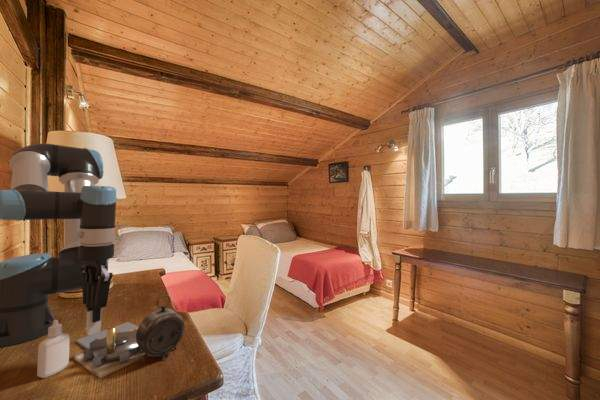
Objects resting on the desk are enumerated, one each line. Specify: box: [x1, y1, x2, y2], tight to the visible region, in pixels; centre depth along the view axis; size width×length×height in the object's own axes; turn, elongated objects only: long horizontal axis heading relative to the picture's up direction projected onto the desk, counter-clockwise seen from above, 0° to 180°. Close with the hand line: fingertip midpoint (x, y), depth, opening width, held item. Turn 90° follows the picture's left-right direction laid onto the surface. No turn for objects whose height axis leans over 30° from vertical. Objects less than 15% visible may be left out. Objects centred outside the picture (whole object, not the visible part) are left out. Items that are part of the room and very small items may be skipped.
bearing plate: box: [72, 348, 149, 379], centre depth 70 cm, size 15×15×1 cm
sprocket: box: [82, 326, 143, 366], centre depth 70 cm, size 15×15×8 cm
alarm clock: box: [136, 294, 186, 363], centre depth 69 cm, size 11×5×16 cm, turn 139°
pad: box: [75, 321, 139, 350], centre depth 79 cm, size 8×14×1 cm, turn 149°
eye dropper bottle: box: [36, 319, 71, 379], centre depth 62 cm, size 4×6×12 cm
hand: (93, 332), depth 69 cm, fingers closed
